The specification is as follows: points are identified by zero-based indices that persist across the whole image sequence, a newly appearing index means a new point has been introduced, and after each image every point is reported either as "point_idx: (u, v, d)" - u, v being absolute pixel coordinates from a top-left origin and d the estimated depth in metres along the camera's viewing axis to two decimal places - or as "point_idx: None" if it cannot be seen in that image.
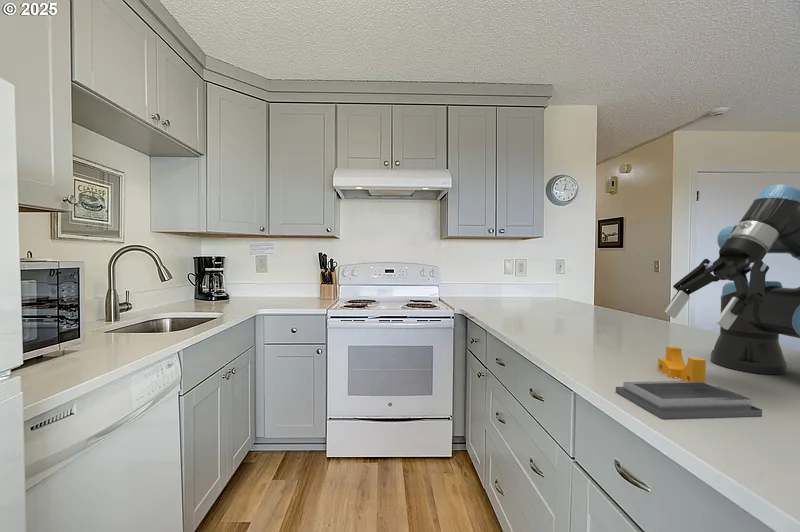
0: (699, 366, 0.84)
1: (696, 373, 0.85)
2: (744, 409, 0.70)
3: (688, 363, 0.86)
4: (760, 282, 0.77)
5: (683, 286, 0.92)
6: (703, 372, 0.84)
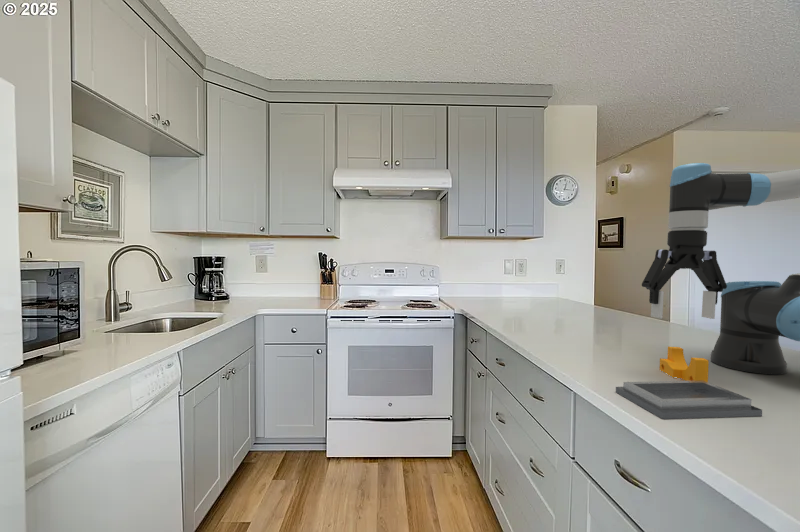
0: (702, 366, 0.84)
1: (699, 373, 0.85)
2: (744, 409, 0.70)
3: (691, 363, 0.86)
4: (652, 270, 0.89)
5: None
6: (706, 372, 0.84)
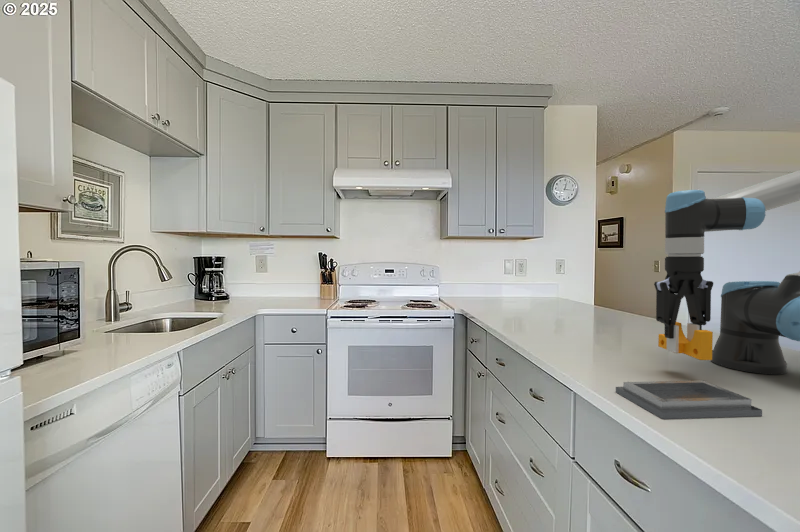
0: (706, 338, 0.84)
1: (704, 345, 0.84)
2: (744, 409, 0.70)
3: (695, 336, 0.86)
4: (659, 304, 0.90)
5: None
6: (710, 344, 0.84)
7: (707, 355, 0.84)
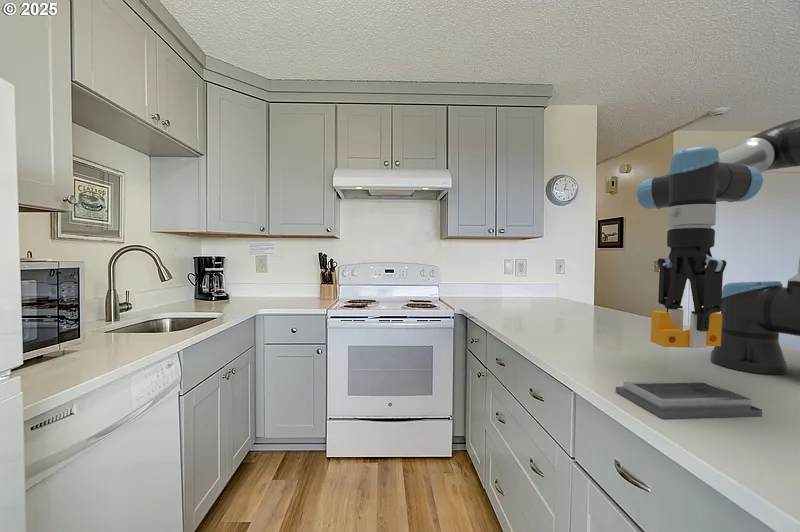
0: None
1: None
2: (744, 409, 0.70)
3: (713, 320, 0.74)
4: (715, 289, 0.68)
5: (668, 301, 0.78)
6: None
7: None
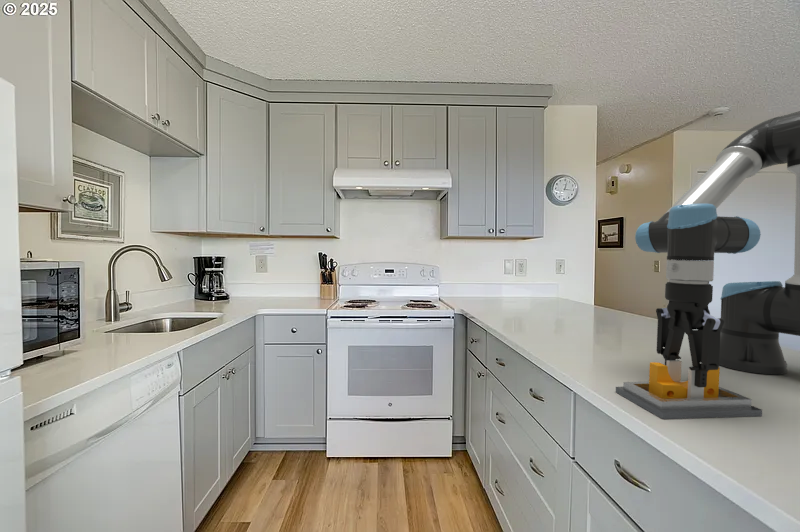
0: None
1: None
2: (744, 409, 0.70)
3: (710, 374, 0.74)
4: (713, 347, 0.69)
5: (666, 352, 0.78)
6: None
7: None
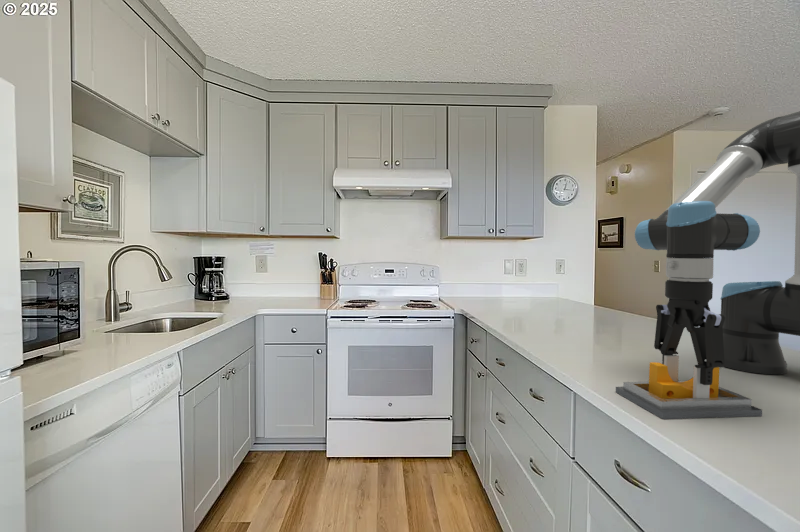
0: None
1: None
2: (744, 409, 0.70)
3: None
4: (717, 344, 0.68)
5: (664, 348, 0.79)
6: None
7: None
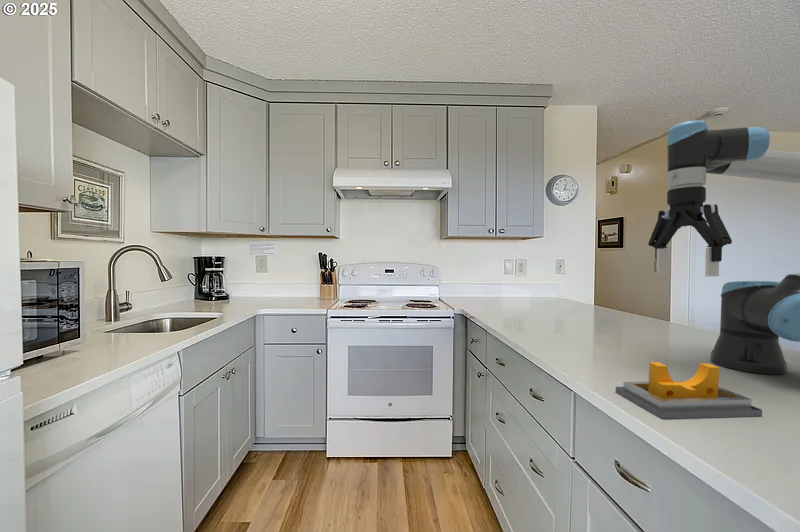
0: None
1: None
2: (744, 409, 0.70)
3: (710, 374, 0.74)
4: (719, 225, 0.83)
5: (657, 243, 0.98)
6: None
7: None
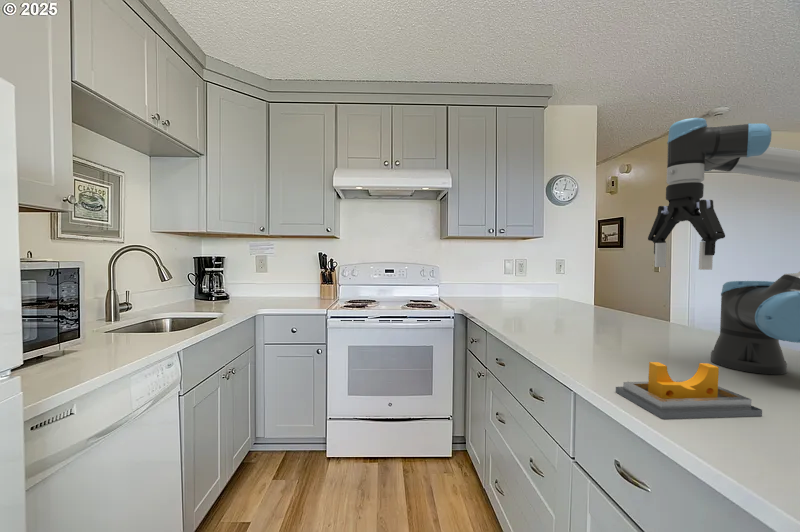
0: None
1: None
2: (744, 409, 0.70)
3: (709, 374, 0.75)
4: (713, 220, 0.85)
5: (656, 238, 1.01)
6: None
7: None
